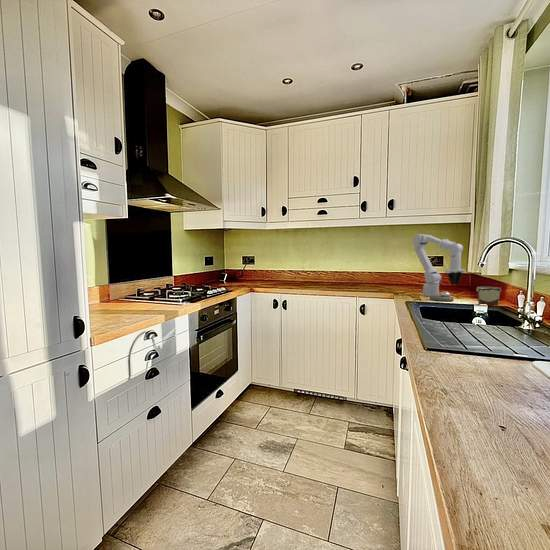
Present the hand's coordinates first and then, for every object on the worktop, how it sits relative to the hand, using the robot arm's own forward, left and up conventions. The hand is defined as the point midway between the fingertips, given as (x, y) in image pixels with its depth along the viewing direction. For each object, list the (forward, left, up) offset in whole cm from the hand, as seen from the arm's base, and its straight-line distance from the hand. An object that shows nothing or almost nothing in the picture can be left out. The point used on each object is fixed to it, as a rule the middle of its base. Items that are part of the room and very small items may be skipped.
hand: (454, 284), depth 191 cm
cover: (0, -8, -7) cm, 11 cm away
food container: (+22, -4, -10) cm, 25 cm away
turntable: (0, -11, -9) cm, 14 cm away
